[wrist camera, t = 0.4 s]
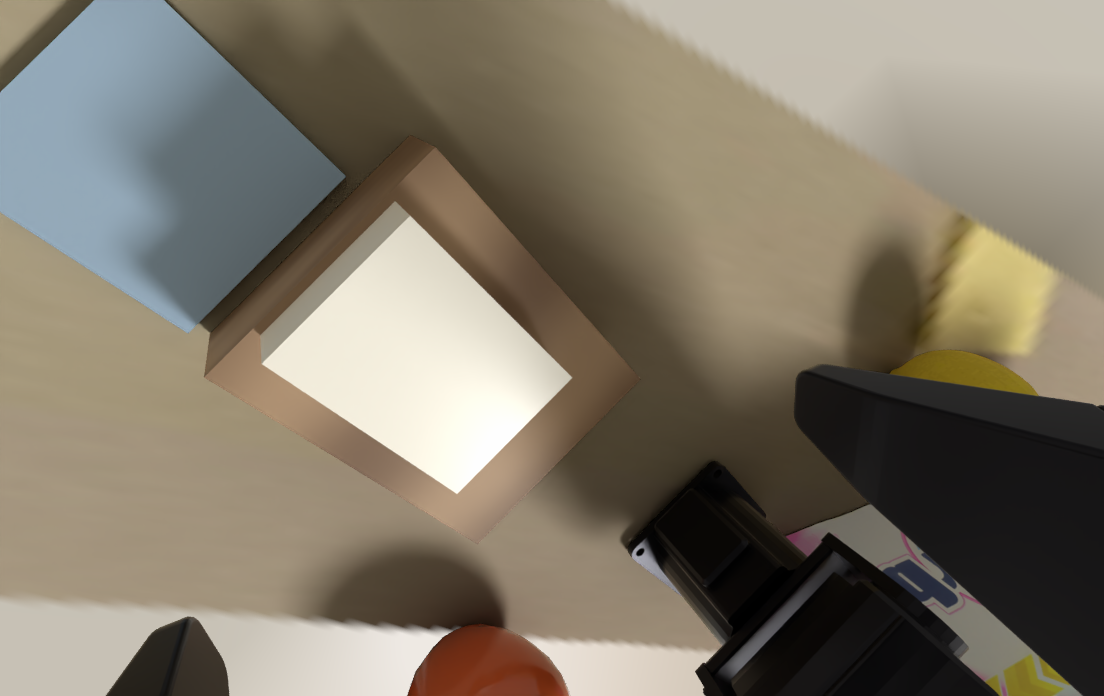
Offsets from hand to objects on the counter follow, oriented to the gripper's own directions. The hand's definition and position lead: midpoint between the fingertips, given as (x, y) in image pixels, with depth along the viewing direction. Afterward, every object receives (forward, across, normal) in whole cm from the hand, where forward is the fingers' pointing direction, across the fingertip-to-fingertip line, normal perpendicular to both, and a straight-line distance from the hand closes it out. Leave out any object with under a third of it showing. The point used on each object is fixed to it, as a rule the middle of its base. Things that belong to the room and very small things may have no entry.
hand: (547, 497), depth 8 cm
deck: (+13, -1, +3) cm, 14 cm away
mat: (+13, +5, -4) cm, 14 cm away
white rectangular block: (+10, 0, +2) cm, 10 cm away
